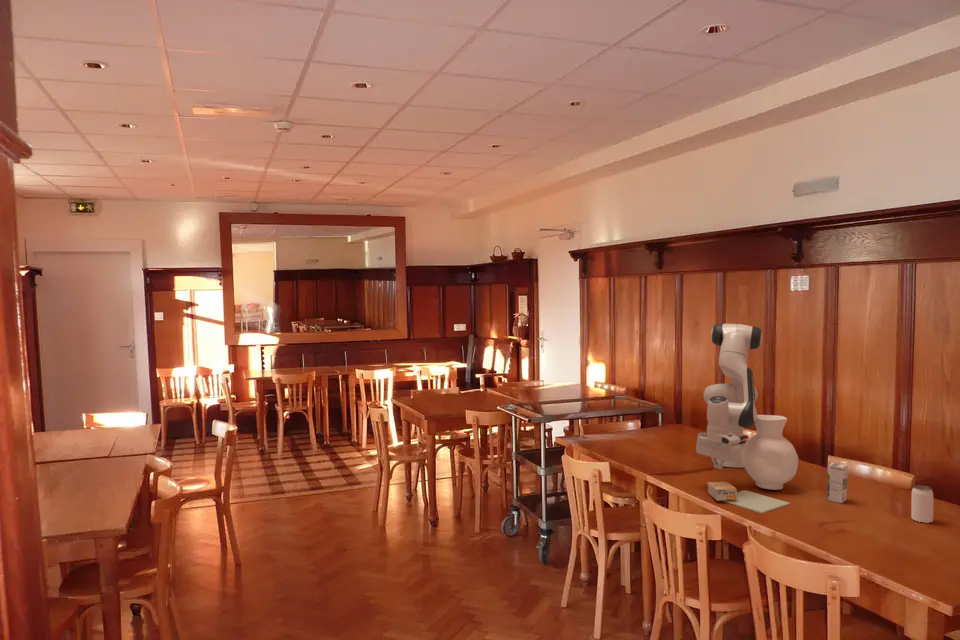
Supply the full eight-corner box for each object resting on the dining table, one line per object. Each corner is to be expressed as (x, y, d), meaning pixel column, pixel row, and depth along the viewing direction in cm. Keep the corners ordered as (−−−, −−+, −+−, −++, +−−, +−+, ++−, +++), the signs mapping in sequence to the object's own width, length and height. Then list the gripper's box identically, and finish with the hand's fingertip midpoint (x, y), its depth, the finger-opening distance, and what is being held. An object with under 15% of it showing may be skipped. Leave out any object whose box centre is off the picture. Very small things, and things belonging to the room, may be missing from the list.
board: (745, 491, 270) (745, 490, 270) (789, 504, 253) (789, 502, 253) (716, 499, 261) (716, 498, 261) (761, 513, 244) (761, 512, 244)
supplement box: (726, 480, 269) (737, 488, 256) (727, 492, 269) (738, 500, 256) (706, 481, 269) (715, 489, 256) (707, 493, 269) (716, 501, 256)
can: (933, 524, 229) (933, 491, 228) (911, 521, 232) (911, 488, 232) (932, 519, 235) (932, 486, 234) (910, 516, 238) (911, 483, 237)
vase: (738, 480, 285) (739, 412, 285) (790, 483, 281) (791, 414, 281) (746, 490, 267) (747, 418, 267) (802, 494, 263) (803, 420, 263)
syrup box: (831, 497, 261) (831, 461, 260) (847, 500, 256) (847, 464, 256) (826, 500, 257) (826, 464, 256) (843, 504, 252) (843, 467, 252)
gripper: (692, 432, 277) (692, 464, 278) (734, 441, 260) (734, 475, 260) (702, 430, 280) (702, 461, 281) (744, 439, 263) (744, 472, 264)
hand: (718, 468), depth 271 cm, fingers closed
